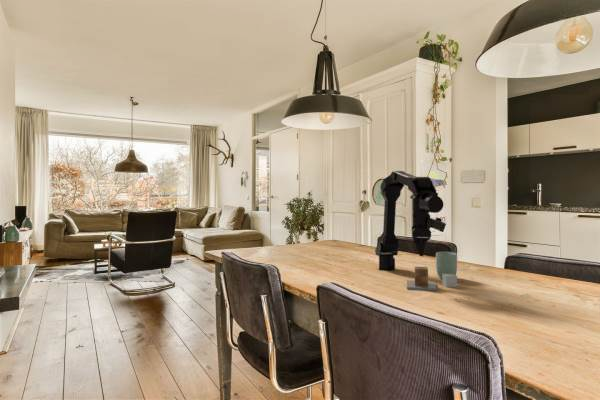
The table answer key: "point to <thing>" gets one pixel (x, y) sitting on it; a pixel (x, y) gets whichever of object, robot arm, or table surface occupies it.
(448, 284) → the painted cube
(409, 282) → the coaster
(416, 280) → the walnut block
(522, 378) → the table surface
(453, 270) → the cup
